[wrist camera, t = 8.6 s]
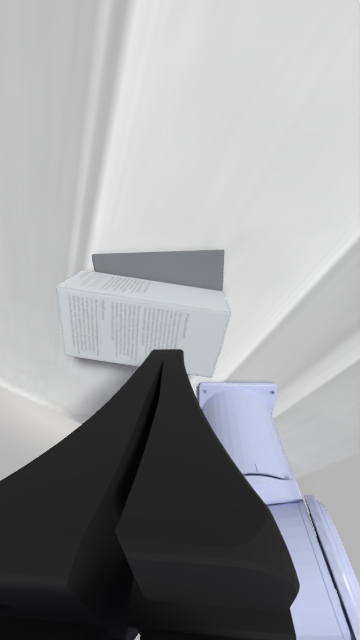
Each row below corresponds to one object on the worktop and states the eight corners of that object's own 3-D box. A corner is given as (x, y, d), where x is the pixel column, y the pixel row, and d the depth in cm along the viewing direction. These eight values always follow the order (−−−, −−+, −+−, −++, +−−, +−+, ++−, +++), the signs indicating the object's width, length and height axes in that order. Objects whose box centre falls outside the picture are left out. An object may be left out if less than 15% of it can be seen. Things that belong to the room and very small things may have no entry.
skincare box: (86, 329, 21) (210, 349, 22) (62, 356, 18) (213, 381, 18) (83, 266, 19) (225, 290, 19) (53, 283, 15) (233, 313, 15)
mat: (220, 327, 21) (220, 329, 20) (109, 328, 22) (108, 330, 21) (223, 249, 18) (224, 250, 17) (93, 254, 18) (91, 255, 18)
